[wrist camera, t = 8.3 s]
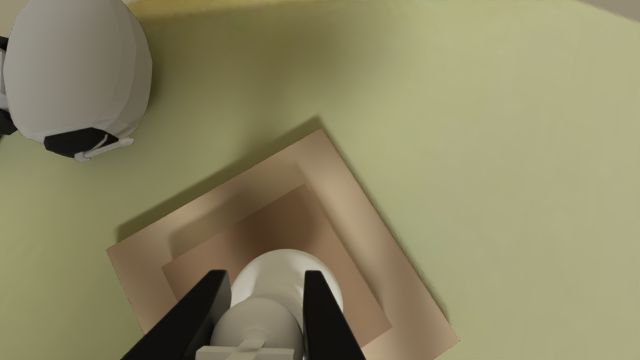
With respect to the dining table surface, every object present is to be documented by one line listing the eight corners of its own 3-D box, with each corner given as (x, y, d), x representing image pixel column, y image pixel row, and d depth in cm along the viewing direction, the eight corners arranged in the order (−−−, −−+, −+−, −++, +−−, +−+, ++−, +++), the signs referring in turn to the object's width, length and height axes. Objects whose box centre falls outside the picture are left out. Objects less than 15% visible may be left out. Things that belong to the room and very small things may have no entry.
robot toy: (-42, 202, 24) (174, 159, 24) (-129, 189, 20) (134, 135, 19) (-33, 45, 27) (160, 4, 26) (-107, 2, 22) (123, -48, 22)
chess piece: (233, 246, 16) (105, 214, 6) (343, 251, 16) (391, 225, 6) (222, 368, 15) (42, 567, 5) (341, 372, 15) (397, 578, 5)
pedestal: (228, 492, 19) (213, 532, 16) (117, 250, 22) (86, 248, 19) (452, 336, 21) (473, 347, 18) (321, 134, 24) (322, 116, 21)
